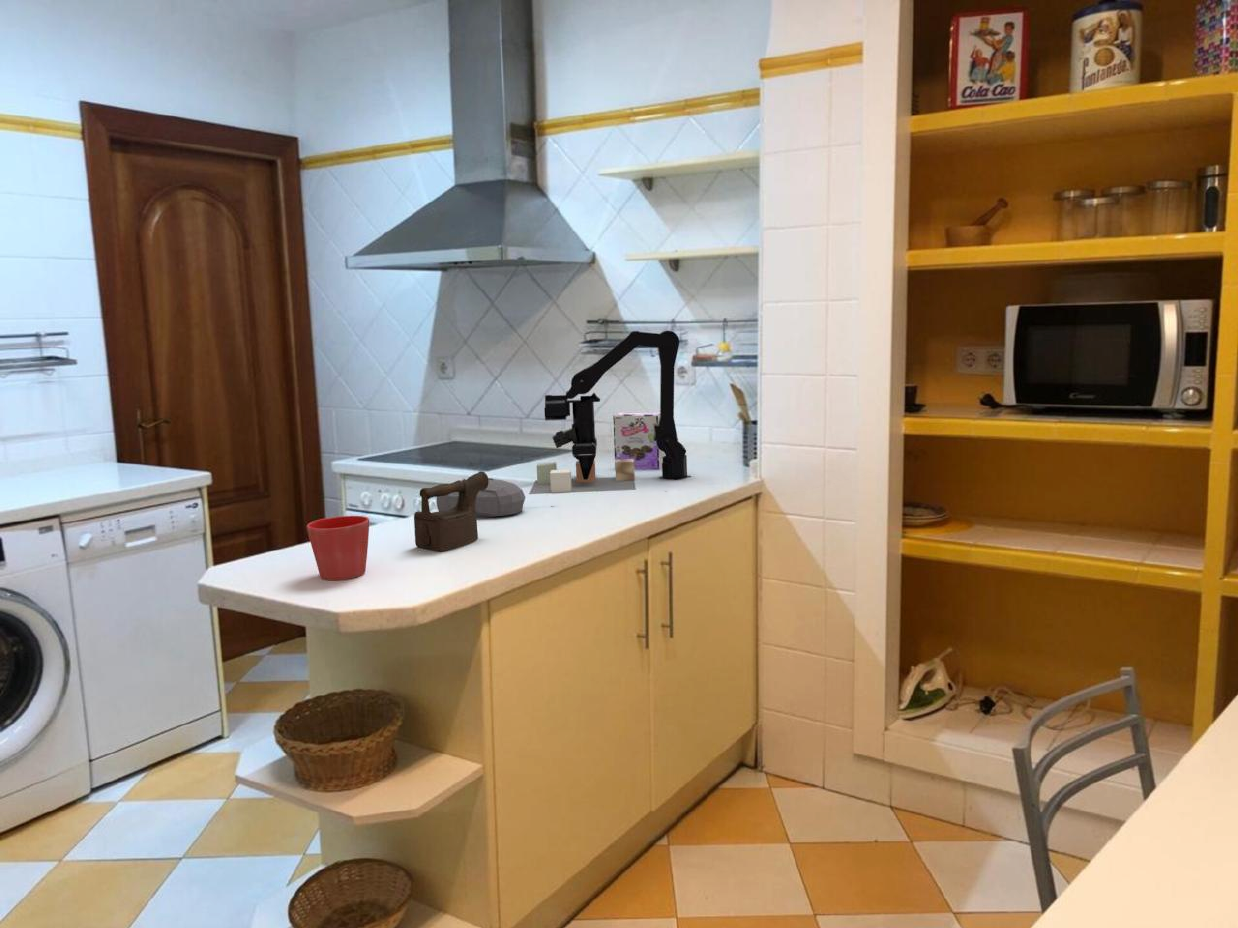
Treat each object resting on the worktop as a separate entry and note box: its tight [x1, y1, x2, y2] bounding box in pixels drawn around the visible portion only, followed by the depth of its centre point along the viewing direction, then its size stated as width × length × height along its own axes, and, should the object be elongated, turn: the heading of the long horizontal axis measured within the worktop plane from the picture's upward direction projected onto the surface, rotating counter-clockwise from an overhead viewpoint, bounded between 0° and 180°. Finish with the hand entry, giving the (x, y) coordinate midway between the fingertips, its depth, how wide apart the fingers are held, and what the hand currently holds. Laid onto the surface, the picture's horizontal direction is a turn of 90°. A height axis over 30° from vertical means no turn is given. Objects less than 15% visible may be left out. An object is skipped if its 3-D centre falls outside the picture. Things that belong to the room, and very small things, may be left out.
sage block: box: [536, 461, 558, 484], centre depth 258 cm, size 5×5×5 cm
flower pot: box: [306, 515, 370, 581], centre depth 170 cm, size 11×11×10 cm
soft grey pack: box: [435, 477, 526, 518], centre depth 222 cm, size 15×8×20 cm
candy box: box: [613, 412, 666, 471], centre depth 277 cm, size 14×6×16 cm, turn 68°
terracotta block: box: [575, 460, 597, 483], centre depth 258 cm, size 5×5×5 cm
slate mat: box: [528, 476, 637, 495], centre depth 252 cm, size 27×21×1 cm
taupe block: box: [550, 468, 572, 494], centre depth 245 cm, size 5×5×5 cm
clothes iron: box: [413, 470, 489, 553], centre depth 191 cm, size 8×16×13 cm, turn 138°
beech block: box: [614, 459, 636, 481], centre depth 259 cm, size 5×5×5 cm
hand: (586, 476), depth 259 cm, fingers open, 9 cm apart
